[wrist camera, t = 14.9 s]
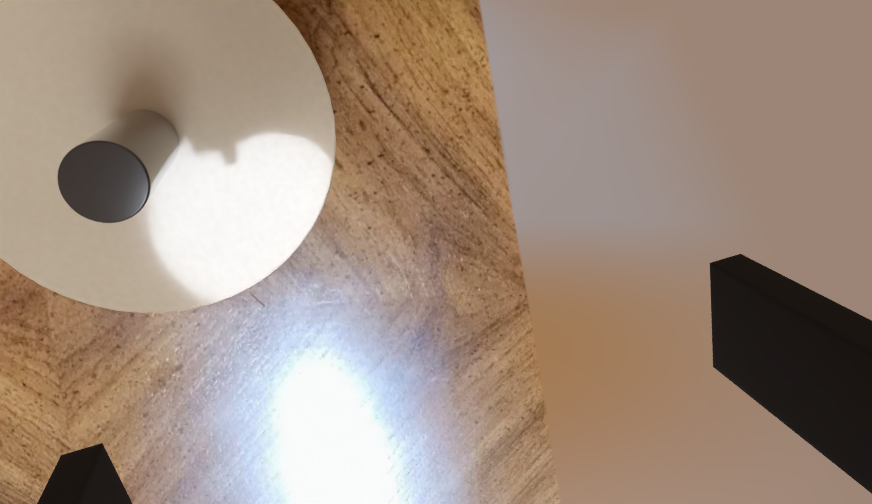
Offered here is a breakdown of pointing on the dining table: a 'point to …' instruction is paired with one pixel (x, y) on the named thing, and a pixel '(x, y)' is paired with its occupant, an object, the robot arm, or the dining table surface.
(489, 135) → the dining table surface
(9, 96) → the lid
